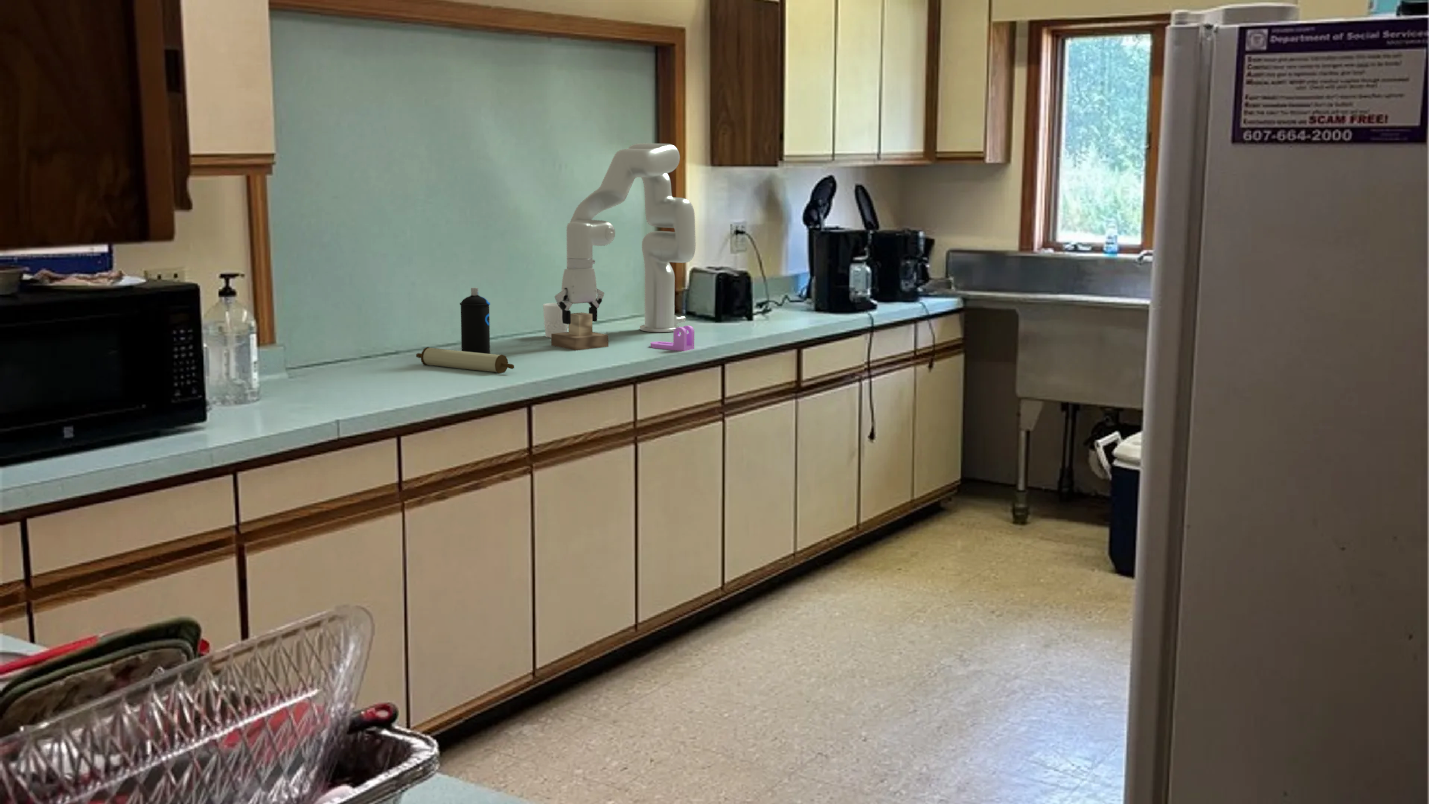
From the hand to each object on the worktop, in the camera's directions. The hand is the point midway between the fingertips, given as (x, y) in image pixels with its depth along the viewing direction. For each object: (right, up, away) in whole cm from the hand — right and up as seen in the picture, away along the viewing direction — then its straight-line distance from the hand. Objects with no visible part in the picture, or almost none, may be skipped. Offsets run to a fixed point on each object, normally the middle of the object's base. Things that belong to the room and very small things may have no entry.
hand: (579, 322), depth 404 cm
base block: (0, -7, +1) cm, 7 cm away
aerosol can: (-26, -12, -28) cm, 40 cm away
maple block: (0, -3, +1) cm, 4 cm away
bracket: (+27, -8, 0) cm, 28 cm away
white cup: (-9, -3, +20) cm, 22 cm away
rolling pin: (-26, -15, -41) cm, 51 cm away
